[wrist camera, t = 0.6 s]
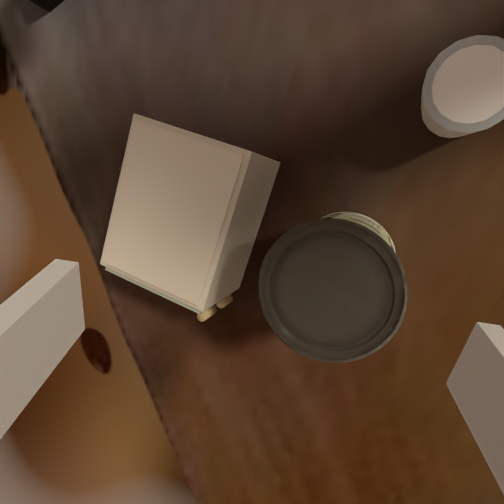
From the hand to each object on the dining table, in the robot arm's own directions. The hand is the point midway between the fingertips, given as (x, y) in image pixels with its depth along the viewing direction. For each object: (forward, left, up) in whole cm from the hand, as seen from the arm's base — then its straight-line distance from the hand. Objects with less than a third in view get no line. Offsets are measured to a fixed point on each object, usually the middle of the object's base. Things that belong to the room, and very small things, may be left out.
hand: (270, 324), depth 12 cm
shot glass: (-5, -15, -28) cm, 32 cm away
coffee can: (-1, +2, -28) cm, 28 cm away
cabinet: (+15, +2, -28) cm, 32 cm away
